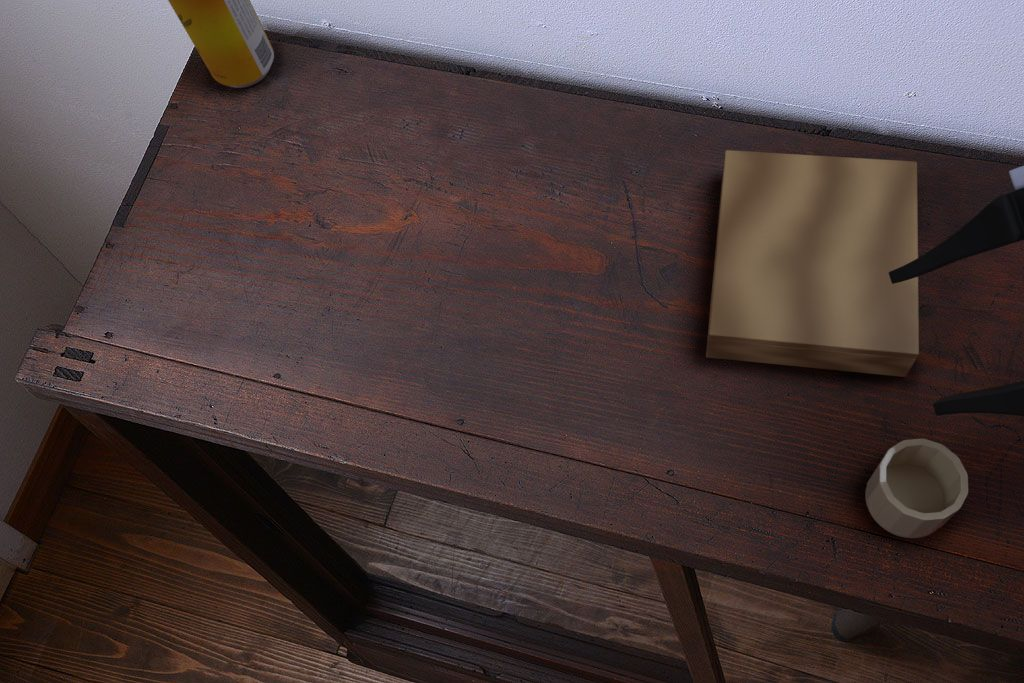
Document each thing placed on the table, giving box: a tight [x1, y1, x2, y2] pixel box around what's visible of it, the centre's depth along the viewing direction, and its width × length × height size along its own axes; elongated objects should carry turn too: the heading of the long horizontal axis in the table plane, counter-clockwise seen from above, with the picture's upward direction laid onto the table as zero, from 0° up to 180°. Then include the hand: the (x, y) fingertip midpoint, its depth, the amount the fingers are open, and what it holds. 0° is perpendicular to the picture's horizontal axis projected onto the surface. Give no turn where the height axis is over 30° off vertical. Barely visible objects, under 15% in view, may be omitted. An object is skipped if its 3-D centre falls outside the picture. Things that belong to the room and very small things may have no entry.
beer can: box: [167, 0, 275, 89], centre depth 83 cm, size 6×6×15 cm
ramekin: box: [864, 438, 969, 539], centre depth 63 cm, size 5×5×4 cm
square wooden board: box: [705, 149, 920, 378], centre depth 72 cm, size 14×16×4 cm
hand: (916, 341), depth 55 cm, fingers open, 7 cm apart
